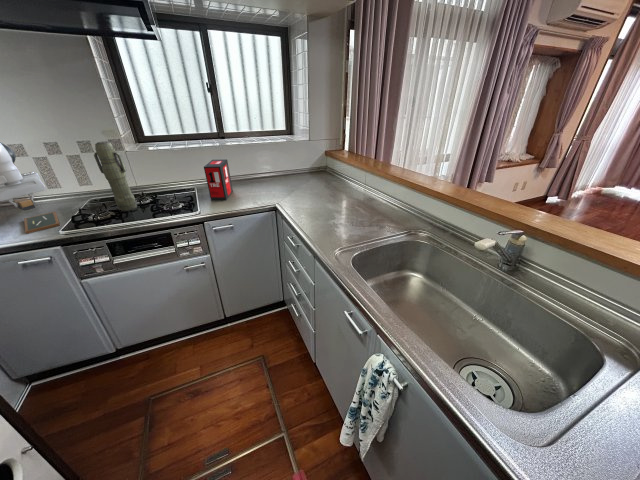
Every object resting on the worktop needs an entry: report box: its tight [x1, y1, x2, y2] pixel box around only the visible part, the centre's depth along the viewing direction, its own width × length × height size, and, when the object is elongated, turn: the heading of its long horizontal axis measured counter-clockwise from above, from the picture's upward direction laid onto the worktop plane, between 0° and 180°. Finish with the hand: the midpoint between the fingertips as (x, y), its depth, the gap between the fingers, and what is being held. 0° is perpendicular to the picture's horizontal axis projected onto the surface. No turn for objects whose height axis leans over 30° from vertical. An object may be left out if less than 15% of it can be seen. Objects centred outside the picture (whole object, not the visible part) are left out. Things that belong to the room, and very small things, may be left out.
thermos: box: [93, 141, 138, 212], centre depth 140 cm, size 9×12×35 cm
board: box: [23, 211, 61, 235], centre depth 132 cm, size 20×12×1 cm, turn 45°
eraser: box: [13, 197, 36, 212], centre depth 129 cm, size 6×4×4 cm, turn 65°
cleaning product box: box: [203, 158, 234, 202], centre depth 160 cm, size 16×9×20 cm, turn 3°
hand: (25, 204), depth 129 cm, fingers closed on eraser, 4 cm apart
